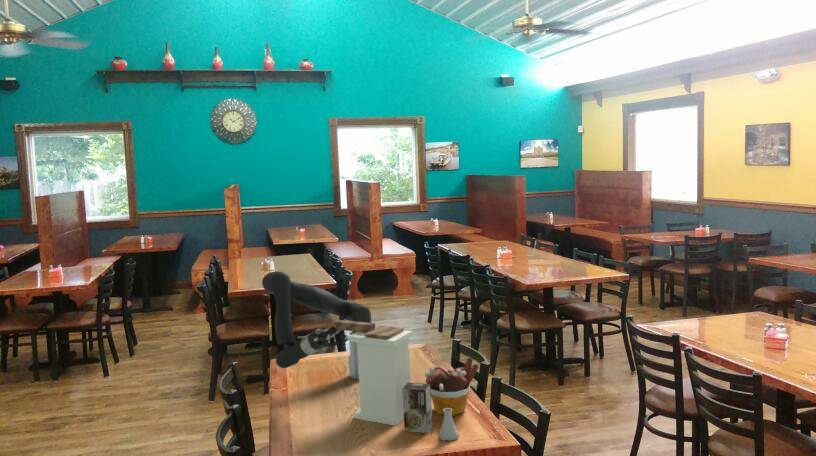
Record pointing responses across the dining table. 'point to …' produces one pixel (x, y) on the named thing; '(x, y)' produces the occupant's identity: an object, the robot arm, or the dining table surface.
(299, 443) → the dining table surface
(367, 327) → the wooden cutting board
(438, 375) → the bucket of meat
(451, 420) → the flask
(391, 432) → the dining table surface
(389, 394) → the display stand
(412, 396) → the coffee box
